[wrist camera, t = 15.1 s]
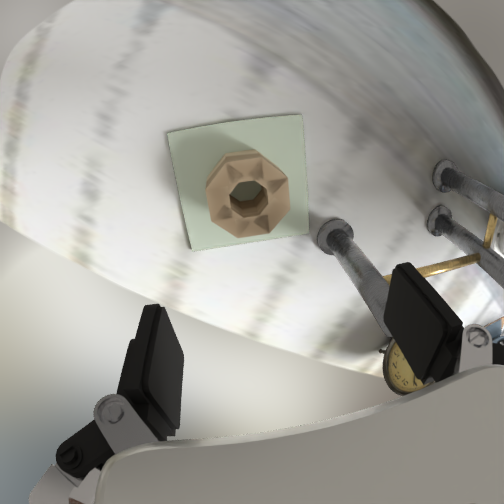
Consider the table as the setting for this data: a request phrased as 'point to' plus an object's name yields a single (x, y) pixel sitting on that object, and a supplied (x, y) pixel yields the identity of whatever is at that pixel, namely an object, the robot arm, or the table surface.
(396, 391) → the alarm clock
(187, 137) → the pad
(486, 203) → the rope barrier
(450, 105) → the table surface
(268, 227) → the pot
